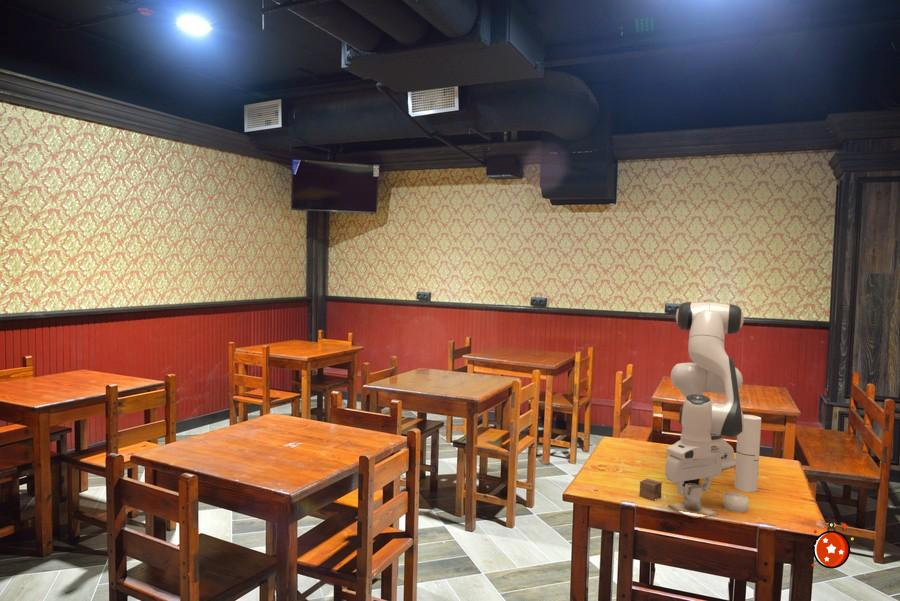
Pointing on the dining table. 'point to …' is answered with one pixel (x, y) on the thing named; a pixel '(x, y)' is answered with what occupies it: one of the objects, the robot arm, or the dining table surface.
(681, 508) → the wavy beige sheet
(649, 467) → the dining table surface
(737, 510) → the white rounded block
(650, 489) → the walnut block
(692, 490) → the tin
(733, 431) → the robot arm
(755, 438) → the cylindrical container
